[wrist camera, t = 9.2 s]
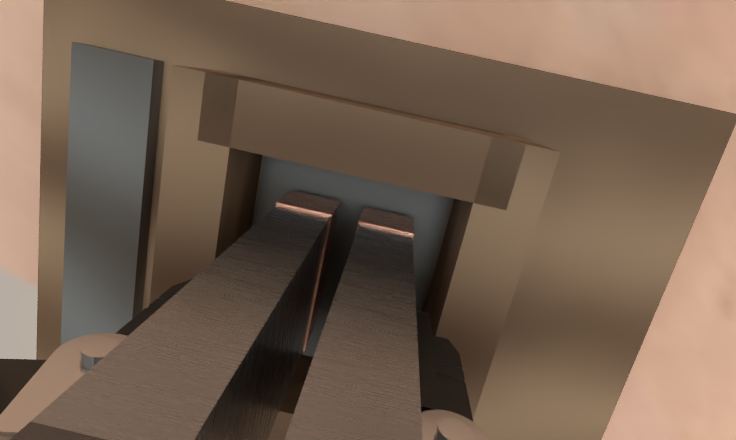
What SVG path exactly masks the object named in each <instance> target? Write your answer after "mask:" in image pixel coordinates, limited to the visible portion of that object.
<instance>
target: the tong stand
mask: <svg viewBox="0 0 736 440" xmlns="http://www.w3.org/2000/svg"><path fill="white" fill-rule="evenodd" d="M735 124H736V114H734V113H729V112H725V111H720V110H716V109H711V108H707V107H702V106H698V105H693V104H689V103H684V102H680V101H675V100H671V99H666V98H662V97H657V96H653V95H648V94H644V93H639V92H635V91H630V90H626V89H621V88H617V87H612V86H608V85H603V84H599V83H594V82H590V81H585V80H581V79H576V78H572V77H567V76H563V75H558V74H554V73H549V72H545V71H540V70H536V69H531V68H527V67H522V66H518V65H513V64H509V63H504V62H500V61H495V60H491V59H486V58H482V57H477V56H473V55H468V54H464V53H459V52H455V51H450V50H446V49H441V48H437V47H432V46H428V45H423V44H419V43H414V42H410V41H405V40H400V39H396V38H391V37H387V36H382V35H378V34H373V33H369V32H364V31H360V30H355V29H351V28H346V27H342V26H337V25H333V24H328V23H324V22H319V21H315V20H310V19H306V18H301V17H297V16H292V15H288V14H283V13H279V12H274V11H270V10H265V9H261V8H256V7H252V6H247V5H243V4H238V3H234V2H229V1H225V0H44V21H43V70H42V118H41V167H40V215H39V263H38V313H37V314H38V315H37V360H47V359H48V358H49V357H50V356H51V355H52V353H53V352H54V351H55V350H56V349H57V348H58V347H60V346H61V345H63V344H64V343H66V342H68V341H70V340H73V339H75V338H78V337H82V336H85V335H90V334H98V333H116V332H117V331H119V330H120V329H121V328H122V327H123V326H125V325H126V324H127V323H128V322H129V321H131V320H132V319H133V318H134V317H135V316H137V315H138V314H139V313H140V312H141V311H143V310H144V309H145V308H148V306H149V305H150V304H151V303H152V302H153V301H155V300H156V299H159V296H161V295H162V294H163V293H164V292H165V291H167V290H168V289H169V288H170V287H171V286H173V285H176V284H179V283H182V282H185V281H187V280H190V279H193V278H194V277H196V276H197V275H198V274H199V273H200V272H201V271H202V270H204V269H205V268H206V267H207V266H208V265H209V264H210V263H212V262H213V261H214V260H215V259H216V258H217V257H218V256H220V255H221V254H222V253H223V252H224V251H225V250H226V249H228V248H229V247H230V246H231V245H232V244H233V243H234V242H235V241H237V240H238V239H239V238H240V237H241V236H242V235H243V234H245V233H246V232H247V231H248V230H249V229H250V228H251V227H253V226H254V225H255V224H256V223H257V222H258V221H259V220H261V219H262V218H263V217H264V216H265V215H266V214H267V213H269V212H270V211H271V210H272V209H273V208H274V207H275V206H276V202H277V201H278V200H279V199H281V198H282V197H283V196H284V195H285V194H286V193H288V192H289V191H290V190H293V191H297V192H302V193H306V194H310V195H315V196H319V197H324V198H328V199H332V200H337V201H340V205H339V210H338V215H337V220H336V225H335V230H334V235H333V240H332V245H331V250H330V255H329V259H328V264H327V269H326V274H325V279H324V284H323V289H322V294H321V299H320V304H319V309H318V313H317V318H316V323H315V326H314V329H313V332H312V334H311V337H310V339H309V342H308V344H307V347H306V350H305V351H303V352H302V354H301V357H300V359H299V362H298V364H297V367H296V369H295V372H294V374H293V377H292V379H291V382H290V384H289V387H288V389H287V392H286V395H285V397H284V400H283V402H282V405H281V407H280V410H279V412H278V415H277V417H276V420H275V422H274V425H273V427H272V430H271V432H270V435H269V437H268V440H285V437H286V434H287V431H288V428H289V426H290V423H291V420H292V417H293V414H294V411H295V408H296V405H297V403H298V400H299V397H300V394H301V391H302V388H303V385H304V382H305V380H306V377H307V374H308V371H309V368H310V365H311V362H312V359H313V357H314V354H315V351H316V348H317V345H318V342H319V339H320V336H321V334H322V331H323V328H324V325H325V322H326V319H327V316H328V313H329V311H330V308H331V305H332V302H333V299H334V296H335V293H336V290H337V288H338V285H339V282H340V279H341V276H342V273H343V270H344V267H345V265H346V262H347V259H348V256H349V253H350V250H351V247H352V244H353V242H354V239H355V234H356V230H357V225H358V221H359V218H360V215H361V212H362V210H363V207H367V208H372V209H376V210H381V211H385V212H389V213H394V214H398V215H403V216H407V217H411V218H414V230H415V235H414V239H413V257H414V277H415V297H416V310H417V311H421V312H425V313H429V314H430V319H431V329H432V335H433V336H437V337H442V338H446V339H448V340H449V341H450V342H451V343H452V345H453V346H454V347H455V348H456V350H457V351H458V352H459V354H460V359H461V363H462V370H463V373H464V378H465V381H464V382H465V383H466V388H467V393H468V397H469V402H470V407H471V412H472V417H473V422H474V423H476V424H477V425H478V426H479V427H480V428H482V429H483V430H484V431H485V433H486V434H487V435H488V436H489V438H490V439H491V440H601V439H602V437H603V434H604V432H605V429H606V427H607V425H608V422H609V420H610V418H611V415H612V413H613V411H614V408H615V406H616V404H617V401H618V399H619V397H620V394H621V392H622V390H623V387H624V385H625V382H626V380H627V378H628V375H629V373H630V371H631V368H632V366H633V364H634V361H635V359H636V357H637V354H638V352H639V350H640V347H641V345H642V343H643V340H644V338H645V336H646V333H647V331H648V328H649V326H650V324H651V321H652V319H653V317H654V314H655V312H656V310H657V307H658V305H659V303H660V300H661V298H662V296H663V293H664V291H665V289H666V286H667V284H668V281H669V279H670V277H671V274H672V272H673V270H674V267H675V265H676V263H677V260H678V258H679V256H680V253H681V251H682V249H683V246H684V244H685V242H686V239H687V237H688V234H689V232H690V230H691V227H692V225H693V223H694V220H695V218H696V216H697V213H698V211H699V209H700V206H701V204H702V202H703V199H704V197H705V195H706V192H707V190H708V187H709V185H710V183H711V180H712V178H713V176H714V173H715V171H716V169H717V166H718V164H719V162H720V159H721V157H722V155H723V152H724V150H725V148H726V145H727V143H728V141H729V138H730V136H731V133H732V131H733V129H734V126H735Z"/></svg>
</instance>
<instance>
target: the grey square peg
mask: <svg viewBox="0 0 736 440" xmlns="http://www.w3.org/2000/svg"><path fill="white" fill-rule="evenodd" d="M339 205H340V201H337V200H332V199H328V198H324V197H319V196H315V195H310V194H306V193H302V192H297V191H293V190H290V191H289V192H288V193H286V194H285V195H284V196H283V197H282V198H281V199H279V200H278V201H277V202H276V206H275V207H274V208H273V209H272V210H271V211H270V212H269V213H267V214H266V215H265V216H264V217H263V218H262V219H261V220H259V221H258V222H257V223H256V224H255V225H254V226H253V227H251V228H250V229H249V230H248V231H247V232H246V233H245V234H243V235H242V236H241V237H240V238H239V239H238V240H237V241H235V242H234V243H233V244H232V245H231V246H230V247H229V248H228V249H226V250H225V251H224V252H223V253H222V254H221V255H220V256H218V257H217V258H216V259H215V260H214V261H213V262H212V263H210V264H209V265H208V266H207V267H206V268H205V269H204V270H202V271H201V272H200V273H199V274H198V275H197V276H196V277H194V278H193V279H192V280H191V281H190V282H189V283H188V284H186V285H185V286H184V287H183V288H182V289H181V290H180V291H179V292H177V293H176V294H175V295H174V296H173V297H172V298H171V299H169V300H168V301H167V302H166V303H165V304H164V305H163V306H161V307H160V308H159V309H158V310H157V311H156V312H155V313H153V314H152V315H151V316H150V317H149V318H148V319H147V320H145V321H144V322H143V323H142V324H141V325H140V326H139V327H137V328H136V329H135V330H134V331H133V332H132V333H131V334H130V335H128V336H127V337H126V338H125V339H124V340H123V341H122V342H120V343H119V344H118V345H117V346H116V347H115V348H114V349H112V350H111V351H110V352H109V353H108V354H107V355H106V356H104V357H103V358H102V359H101V360H100V361H99V362H98V363H96V364H95V365H94V366H93V367H92V368H91V369H90V370H88V371H87V372H86V373H85V374H84V375H83V376H82V377H81V378H79V379H78V380H77V381H76V382H75V383H74V384H73V385H71V386H70V387H69V388H68V389H67V390H66V391H65V392H63V393H62V394H61V395H60V396H59V397H58V398H57V399H55V400H54V401H53V402H52V403H51V404H50V405H49V406H47V407H46V408H45V409H44V410H43V411H42V412H41V413H39V414H38V415H37V416H36V417H35V418H34V419H33V420H32V421H30V422H29V423H28V424H27V425H26V426H25V427H24V428H22V429H21V430H20V431H19V432H18V433H17V434H16V435H14V436H13V437H12V438H11V439H10V440H268V437H269V435H270V432H271V430H272V427H273V425H274V422H275V420H276V417H277V415H278V412H279V410H280V407H281V405H282V402H283V400H284V397H285V395H286V392H287V389H288V387H289V384H290V382H291V379H292V377H293V374H294V372H295V369H296V367H297V364H298V362H299V359H300V357H301V354H302V352H303V351H305V350H306V347H307V344H308V342H309V339H310V337H311V334H312V332H313V329H314V326H315V323H316V318H317V313H318V309H319V304H320V299H321V294H322V289H323V284H324V279H325V274H326V269H327V264H328V259H329V255H330V250H331V245H332V240H333V235H334V230H335V225H336V220H337V215H338V210H339ZM414 235H415V230H414V218H411V217H407V216H403V215H398V214H394V213H389V212H385V211H381V210H376V209H372V208H367V207H363V210H362V212H361V215H360V218H359V221H358V225H357V230H356V234H355V239H354V242H353V244H352V247H351V250H350V253H349V256H348V259H347V262H346V265H345V267H344V270H343V273H342V276H341V279H340V282H339V285H338V288H337V290H336V293H335V296H334V299H333V302H332V305H331V308H330V311H329V313H328V316H327V319H326V322H325V325H324V328H323V331H322V334H321V336H320V339H319V342H318V345H317V348H316V351H315V354H314V357H313V359H312V362H311V365H310V368H309V371H308V374H307V377H306V380H305V382H304V385H303V388H302V391H301V394H300V397H299V400H298V403H297V405H296V408H295V411H294V414H293V417H292V420H291V423H290V426H289V428H288V431H287V434H286V437H285V440H423V439H422V419H421V399H420V378H419V358H418V338H417V318H416V297H415V277H414V257H413V239H414Z"/></svg>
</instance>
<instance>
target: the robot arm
mask: <svg viewBox="0 0 736 440" xmlns="http://www.w3.org/2000/svg"><path fill="white" fill-rule="evenodd" d="M191 280H192V279H190V280H187V281H185V282H182V283H179V284H176V285H173V286H171V287H170V288H169V289H168V290H167V291H165V292H164V293H163V294H162V295H161V296H159V299H156V300H155V301H153V302H152V303H151V304H150V305H149V306H148V308H145V309H144V310H143V311H141V312H140V313H139V314H138V315H137V316H135V317H134V318H133V319H132V320H131V321H129V322H128V323H127V324H126V325H125V326H123V327H122V328H121V329H120V330H119V331H117V332H116V333H98V334H90V335H85V336H82V337H78V338H75V339H73V340H70V341H68V342H66V343H64V344H63V345H61V346H60V347H58V348H57V349H56V350H55V351H54V352H53V353H52V355H51V356H50V357H49V358H48V359H47V360H27V359H24V360H23V359H0V440H10V439H11V438H12V437H13V436H14V435H16V434H17V433H18V432H19V431H20V430H21V429H22V428H24V427H25V426H26V425H27V424H28V423H29V422H30V421H32V420H33V419H34V418H35V417H36V416H37V415H38V414H39V413H41V412H42V411H43V410H44V409H45V408H46V407H47V406H49V405H50V404H51V403H52V402H53V401H54V400H55V399H57V398H58V397H59V396H60V395H61V394H62V393H63V392H65V391H66V390H67V389H68V388H69V387H70V386H71V385H73V384H74V383H75V382H76V381H77V380H78V379H79V378H81V377H82V376H83V375H84V374H85V373H86V372H87V371H88V370H90V369H91V368H92V367H93V366H94V365H95V364H96V363H98V362H99V361H100V360H101V359H102V358H103V357H104V356H106V355H107V354H108V353H109V352H110V351H111V350H112V349H114V348H115V347H116V346H117V345H118V344H119V343H120V342H122V341H123V340H124V339H125V338H126V337H127V336H128V335H130V334H131V333H132V332H133V331H134V330H135V329H136V328H137V327H139V326H140V325H141V324H142V323H143V322H144V321H145V320H147V319H148V318H149V317H150V316H151V315H152V314H153V313H155V312H156V311H157V310H158V309H159V308H160V307H161V306H163V305H164V304H165V303H166V302H167V301H168V300H169V299H171V298H172V297H173V296H174V295H175V294H176V293H177V292H179V291H180V290H181V289H182V288H183V287H184V286H185V285H186V284H188V283H189V282H190V281H191ZM416 318H417V338H418V358H419V378H420V399H421V419H422V439H423V440H491V439H490V438H489V436H488V435H487V434H486V433H485V431H484V430H483V429H482V428H480V427H479V426H478V425H477V424H476V423H474V422H473V417H472V412H471V407H470V402H469V397H468V393H467V388H466V383H465V382H464V381H465V378H464V373H463V370H462V363H461V359H460V354H459V352H458V351H457V350H456V348H455V347H454V346H453V345H452V343H451V342H450V341H449V340H448V339H446V338H442V337H437V336H433V335H432V329H431V319H430V314H429V313H425V312H421V311H417V310H416Z"/></svg>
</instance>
